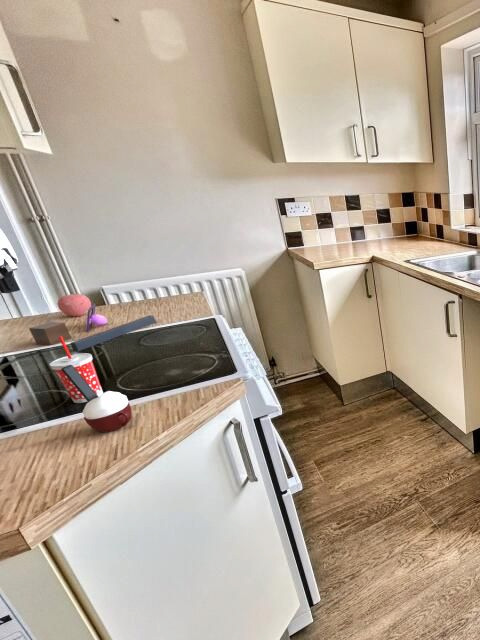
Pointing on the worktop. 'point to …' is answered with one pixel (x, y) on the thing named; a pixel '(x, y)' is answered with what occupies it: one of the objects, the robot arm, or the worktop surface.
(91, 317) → the purple looped trinket
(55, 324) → the walnut block
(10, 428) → the worktop surface
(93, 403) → the cocoa
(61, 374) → the beverage cup
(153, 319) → the rail
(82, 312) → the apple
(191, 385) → the worktop surface
